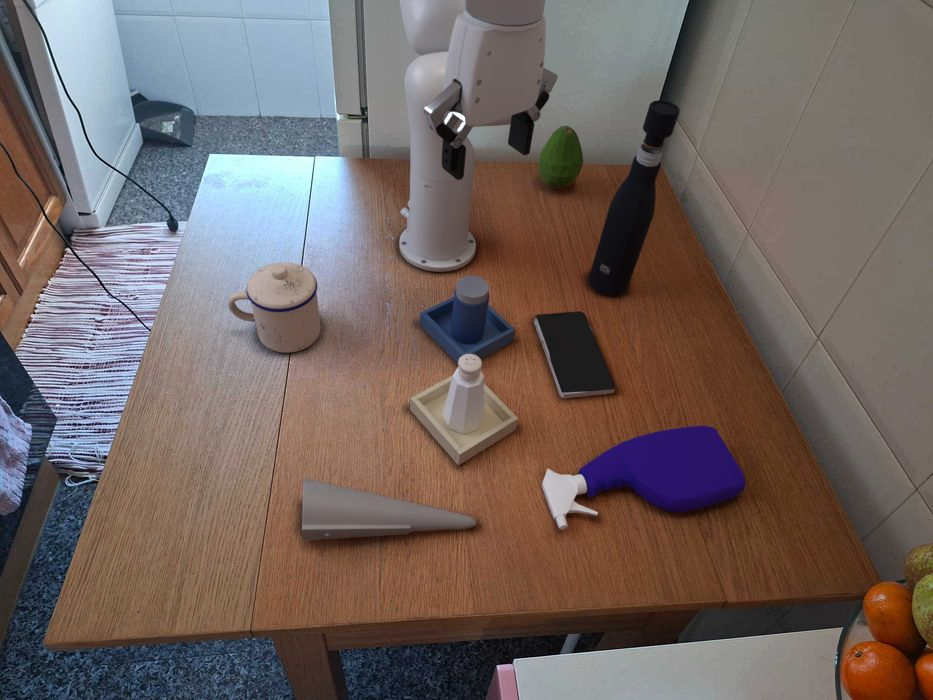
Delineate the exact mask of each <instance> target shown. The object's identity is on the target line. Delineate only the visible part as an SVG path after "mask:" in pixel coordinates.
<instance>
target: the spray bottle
mask: <svg viewBox="0 0 933 700" xmlns="http://www.w3.org/2000/svg"><path fill="white" fill-rule="evenodd" d="M543 477H544V478H543V480H542V483H541V489H542V491H543V493H544V496H545V500H546V502H547V504H548V507H549V510H550V513H551V515H552V519H553V520H554V521H556V524H557V527H558V529H559V530H565V529H567V528H568V522H567V515H568V514H576V513H577V514H583V515H591V516H595V517H598V515H599V512H598V511H596V510H594V509H592V508H589V507H586V506H583V505H581V504H579V503H577V502H576V501H575V499H576V497H577V496H579V495H584V494H585V496H586V497H589V498H594V497H596V496H597V495H598V494H599V493H600V492H601V491H602V492H610V491H611V490H612V489H613V488H615V489H621V488H622V487H628V488H630V489H631V490H632V491H633V492H634V493H635V494H637V495H638V496H640V497H641V498H642V499H643V500H645V501H646V502H648V503H649V504H650V505H652V506H654V507H656V508H658V509H660V510H662V511H665V512H672V513H677V514H679V513H685V512H689V511H694V510H695V511H696V510H700V509H703V508H707V507H710V506H712V505H717V504H719V503H723V502H726V501H728V500H731V499H734V498H736V497H737V496H739V495H740V494H742V493H743V492H744V491H745V489H746V485H747V482H746V478H745V474H744V472H743V470H742V469H741V467H740V465H739V464H738V462H737V461H736V459H735V457H734V456H733V454H732V452H731V451H730V449H729V448H728V446H727V445H726V443H725V442H724V440H723V438H722V437H721V435H720V434H719V432H718V431H717V429H716V428H715V427H712V426H709V425H708V426H707V425H693V426H683V427H676V428H672V429H671V428H670V429H663V430H657V431H655V432H651V433H650V432H649V433H646V434H643V435H639V436H635V437H632V438H630V439H628V440H625V441H623V442H620V443H618V444H616V445H615V446H612V447H611V448H609V449H607V450H606V451H604V452H602V453H601V454H599V455H598V456H597V457H595V458H593V459H592V460H591V461H589V462H587V463H586V464H585V465H583V466H582V467H580V468H579V469H578V473H577V474H574V475H572V474H560V473H557V472H555V471H554V470H553V469H552V470H551V469H550V468H546V471H545V474H544V476H543Z"/></svg>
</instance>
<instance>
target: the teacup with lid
mask: <svg viewBox="0 0 933 700" xmlns="http://www.w3.org/2000/svg"><path fill="white" fill-rule="evenodd" d="M317 292H318V281H317V279H316V277H315V276H314V274H313V272H312V271H311V270H310V269H309V268H307V267H305V266H304V265H301V264H299V263H295V262H289V261H288V262H287V261H284V262H283V261H280V262H274V263H270V264H267V265H264V266H262V267H260V268H259V269H257V270H256V271H255V272H253V274H252V275H251V276H250V277H249V279H248V281H247V285H246V290H244V291H243V290H242V291H241V290H240V291H236V292H233V293H232V294H231V295H230V296H229V298H228V301H227V305H228V309H229V311H230V312H231V313H232V314H233V315H234V317H236V318H237V319H240V320H241V321H245V322H251V323H253V322H254V323H255V328H256V332H257V335H258V338H259V341H260V342H261V343H262V345H264V346H265V347H266V348H268V349H269V350H272V351H274V352H278V353H285V354H286V353H287V354H288V353H295V352H300V351H302V350H305V349H307V348H309V347H310V346H311V345H313V344H314V343H315V342H316V341H317V339H318V338H319V336H320V334H321V329H322V327H321V318H320V309H319V301H318V295H317ZM241 300H245V301H246V300H247V301H249V302H250V305H251V310H252V313H251V312H246V311H243V310H242V309H240V308H239V307H238V305H236V302H237V301H241Z"/></svg>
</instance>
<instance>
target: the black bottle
mask: <svg viewBox="0 0 933 700" xmlns="http://www.w3.org/2000/svg"><path fill="white" fill-rule="evenodd" d="M680 112H681V110H680V107H679V106H678V105H677V104H675V103H673V102H671V101H668V100H662V99H661V100H660V99H659V100H658V99H657V100H653V101H651V102H650V103H649V105H648V108H647V112H646V116H645V119H644V121H643V122H644V123H643V125H642V130H643V132H645V137H644V139H643V142H642V143H641V144H640V146H639V147H638V149H637V152H636V155H635V156H634V157H633V159H632V163H631V166H630V170H629V173H628V174H627V176H626V178H625V179H624V180H623V182H622V183H621V184H620V185H619V186H618V188H617V190H616V191H615V193H614V194H613V197H612V199H611V201H610V203H609V206H608V210H607V214H606V217H605V220H604V224H603V226H602V230H601V233H600V238H599V241H598V243H597V244H598V245H597V248H596V251H595V255H594V258H593V262H592V266H591V268H590V272H589V275H588V280H587V281H588V284H589V286H590V288H591V289H592V290H593V291H595V292H596V293H598V294H600V295H602V296H607V297H619V296H622V295H623V294H625V293H626V292H627V290H628V289H629V286H630V283H631V280H632V277H633V275H634V271H635V269H636V266H637V263H638V261H639V258H640V254H641V252H642V249H643V247H644V243H645V241H646V238H647V235H648V232H649V229H650V227H651V224H652V221H653V218H654V216H655V210H656V209H655V208H656V201H657V200H656V199H657V189H656V188H657V187H656V186H657V185H656V181H657V178H658V175H659V172H660V169H661V166H662V157H663V154H664V153H663V147H664V144H665V139H666V138H669V137H671V136H672V135H673V133H674V129H675V126H676V123H677V121H678V118H679V115H680Z"/></svg>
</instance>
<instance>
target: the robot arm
mask: <svg viewBox="0 0 933 700" xmlns="http://www.w3.org/2000/svg"><path fill="white" fill-rule="evenodd" d="M545 5H546V0H399V6H400V11H401V18H402V22H403V27H404V33H405V36H406V38H407V39H406V40H407V42H408V44H409V46H410V48H411V49H412V51H413V52H415V54H417V55H419V56H418V57H416V58H415V59H414V60H412V61H411V62H410V63H409V65H408V66H407V69H406V71H405V74H404V75H405V76H404V94H405V100H406V107H407V108H406V109H407V115H408V125H409V141H410V143H409V149H410V151H409V152H410V153H409V154H410V155H409V160H410V161H409V200H408V201H407V207H408V208H409V209H408V208H407V207H402V208H401V210H400V214H401V216H402V217H403V218H405V219H406V228H405V229H404V230H403V231H402V233H401V234H400V237H399V243H398V244H399V245H398V246H399V251H400V254H401V255H402V257H403V258H404V259H405V261H407V263H409V264H411V265H412V266H414V267H416V268H418V269H420V270H424V271H429V272H435V273H436V272H437V273H444V272H445V273H446V272H453V271H455V270H459V269H461V268H463V267H465V266H466V265H468V264H469V263H470V262H471V261H472V260H473V258H474V257H475V254H476V249H477V243H476V242H477V241H476V239H475V237H474V235H473V234H472V233H471V231H470V230H469V227H470V217H471V216H470V215H471V206H472V196H473V187H474V177H475V166H476V152H475V149H474V146H473V144H472V142H471V140H470V138H469V137H468V135H469V134H470V132H471V131H472V129H473V128H479V127H481V128H482V127H496V126H499V127H500V126H509V125H510V126H509V131H508V132H509V133H508V137H507V145H508V146H510V147H511V148H512V149H514V150H515V151H517V152H518V153H519V154H521V155H523V156H528V155H529V154H530V152H531V146H532V141H533V136H534V130H535V123H536V122H537V121H539V120H540V118H541V111H542V109H543V108H544V107H545V105H546V104H547V102H549V99H550V93H551V92H552V91H553V89H554V86H555V85H556V82H557V80H558V78H559V77H558V74H557V73H555V72H554V71H552V70H550V69H549V68H546V67H545V66H544V65H545V54H546V40H547V39H546V36H547V35H546V32H547V31H546V28H547V25H546V15H545V13H544V12H545Z"/></svg>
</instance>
